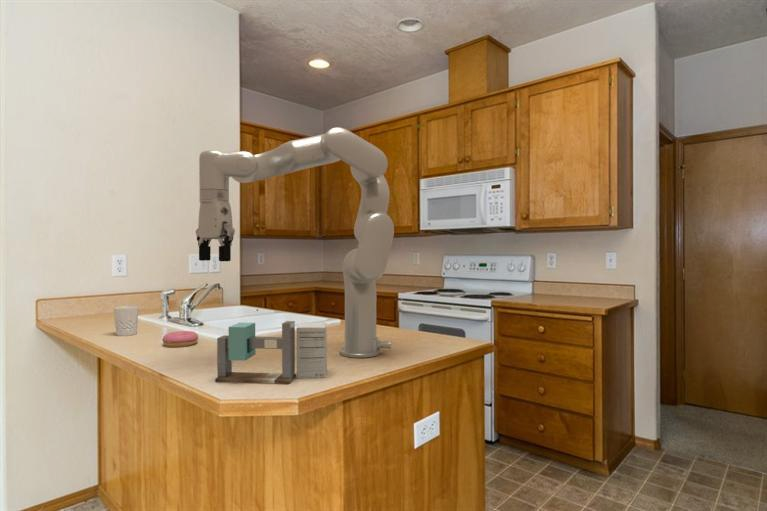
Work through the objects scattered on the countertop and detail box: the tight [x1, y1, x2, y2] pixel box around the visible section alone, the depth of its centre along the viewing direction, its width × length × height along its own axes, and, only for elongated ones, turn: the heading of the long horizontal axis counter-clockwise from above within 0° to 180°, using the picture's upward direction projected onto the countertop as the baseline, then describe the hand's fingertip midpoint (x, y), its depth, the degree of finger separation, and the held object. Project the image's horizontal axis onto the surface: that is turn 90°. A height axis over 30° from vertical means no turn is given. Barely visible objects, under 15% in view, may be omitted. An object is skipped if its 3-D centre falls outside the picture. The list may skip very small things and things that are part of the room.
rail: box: [216, 320, 296, 383], centre depth 114 cm, size 18×4×14 cm, turn 84°
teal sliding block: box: [228, 322, 256, 362], centre depth 114 cm, size 4×7×8 cm, turn 174°
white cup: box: [113, 305, 139, 337], centre depth 173 cm, size 8×8×10 cm
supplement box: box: [296, 321, 328, 379], centre depth 119 cm, size 7×7×13 cm
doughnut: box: [161, 330, 199, 348], centre depth 155 cm, size 11×11×4 cm
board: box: [214, 371, 297, 385], centre depth 114 cm, size 18×6×1 cm, turn 84°
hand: (214, 260), depth 128 cm, fingers open, 9 cm apart
